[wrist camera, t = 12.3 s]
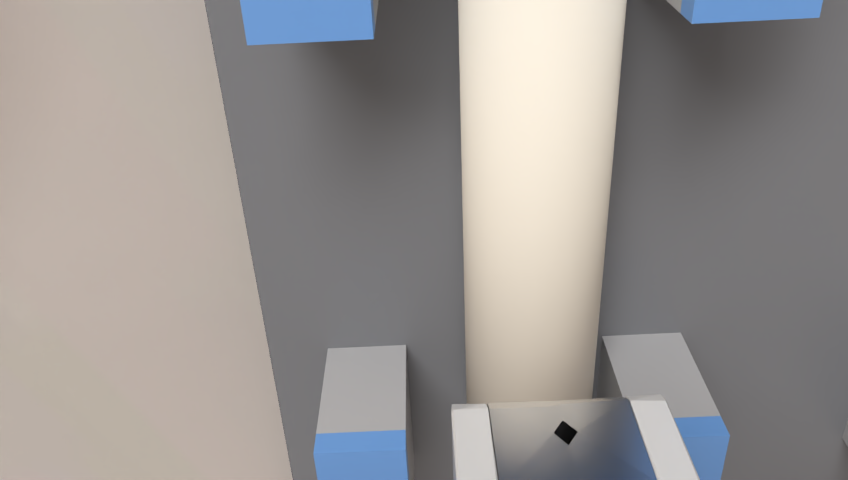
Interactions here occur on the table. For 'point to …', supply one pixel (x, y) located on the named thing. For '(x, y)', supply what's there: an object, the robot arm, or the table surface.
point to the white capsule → (536, 190)
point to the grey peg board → (625, 239)
